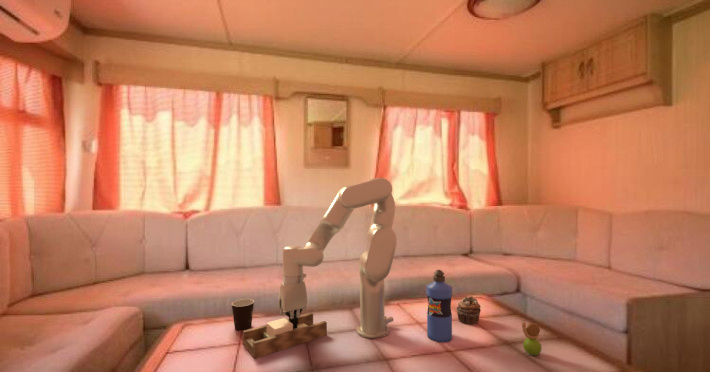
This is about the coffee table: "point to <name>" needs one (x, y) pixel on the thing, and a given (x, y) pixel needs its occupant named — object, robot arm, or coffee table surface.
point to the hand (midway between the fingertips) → (293, 327)
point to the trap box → (282, 336)
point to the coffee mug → (242, 314)
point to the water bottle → (439, 309)
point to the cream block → (279, 327)
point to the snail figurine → (531, 338)
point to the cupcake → (468, 311)
